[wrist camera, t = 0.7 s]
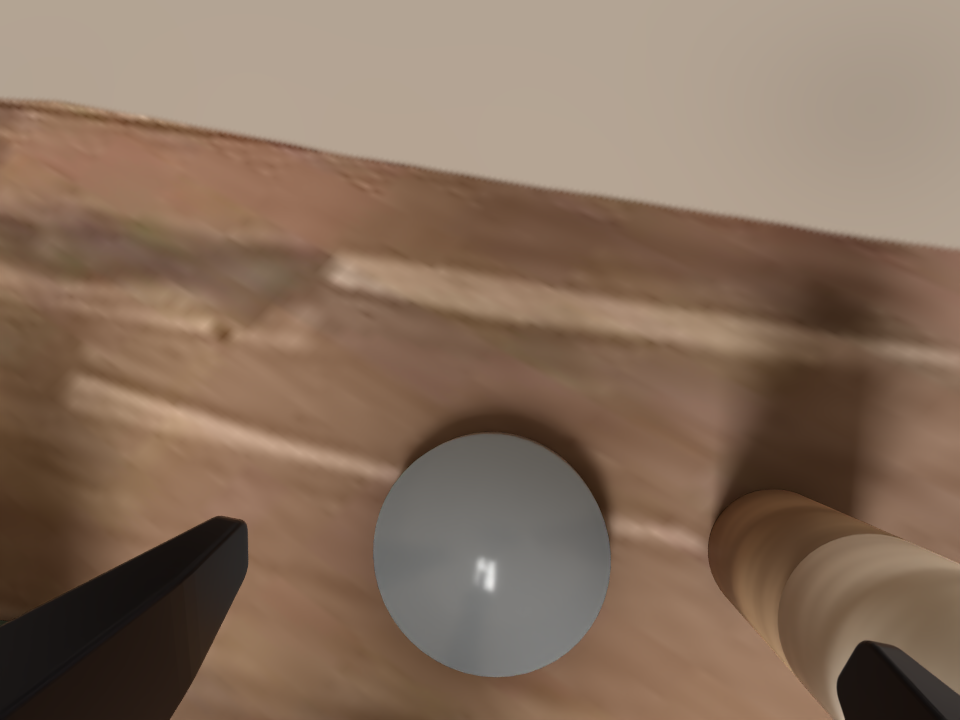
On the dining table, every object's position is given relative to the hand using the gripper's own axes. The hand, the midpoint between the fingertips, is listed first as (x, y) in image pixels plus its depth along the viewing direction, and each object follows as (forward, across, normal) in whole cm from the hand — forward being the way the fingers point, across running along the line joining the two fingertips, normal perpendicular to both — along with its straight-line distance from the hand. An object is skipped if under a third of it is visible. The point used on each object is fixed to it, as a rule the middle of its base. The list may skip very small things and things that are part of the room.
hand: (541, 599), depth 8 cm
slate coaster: (+13, 0, +10) cm, 16 cm away
